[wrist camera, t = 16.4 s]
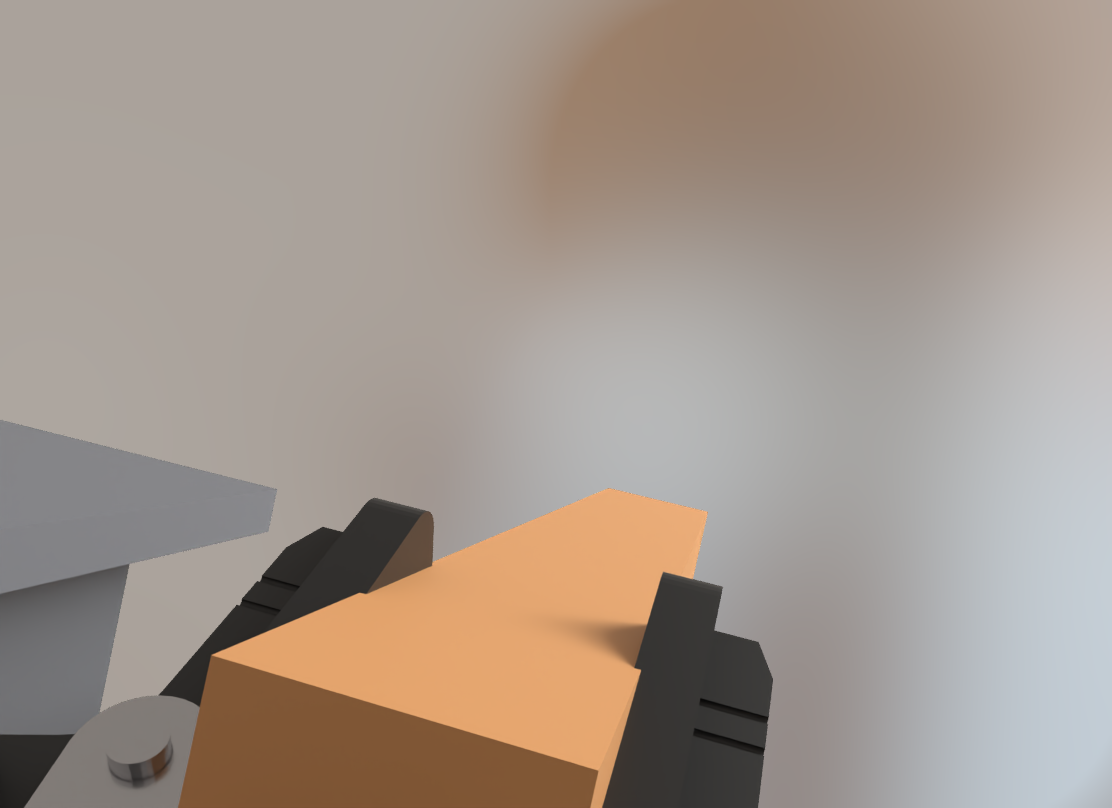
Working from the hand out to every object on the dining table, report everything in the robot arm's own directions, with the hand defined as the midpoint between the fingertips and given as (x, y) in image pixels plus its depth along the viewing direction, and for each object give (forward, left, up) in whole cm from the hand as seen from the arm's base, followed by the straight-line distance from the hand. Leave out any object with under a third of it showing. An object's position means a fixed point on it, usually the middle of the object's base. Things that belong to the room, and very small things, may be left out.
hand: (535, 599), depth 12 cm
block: (0, -6, -3) cm, 7 cm away
